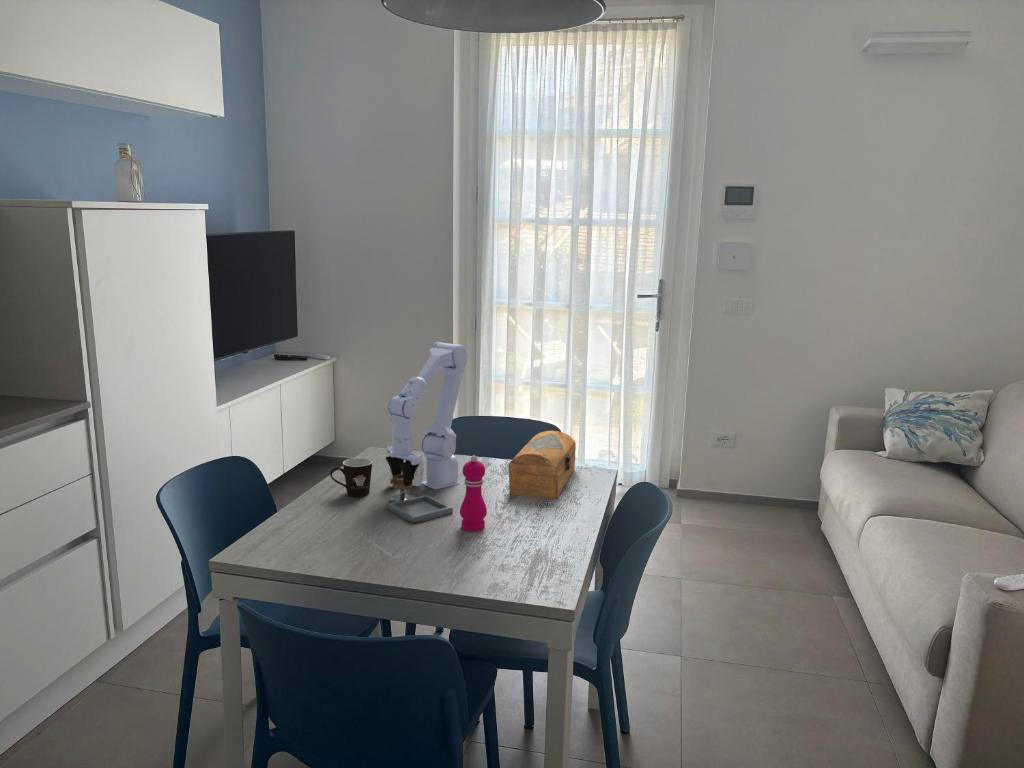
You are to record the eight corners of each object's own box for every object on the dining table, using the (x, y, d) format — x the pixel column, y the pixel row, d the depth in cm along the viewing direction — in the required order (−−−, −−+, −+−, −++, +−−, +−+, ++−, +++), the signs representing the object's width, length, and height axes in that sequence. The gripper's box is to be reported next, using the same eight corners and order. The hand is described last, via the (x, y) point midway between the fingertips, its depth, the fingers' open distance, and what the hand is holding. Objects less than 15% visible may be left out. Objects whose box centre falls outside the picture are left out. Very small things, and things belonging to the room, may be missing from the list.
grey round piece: (406, 493, 236) (406, 479, 236) (421, 501, 230) (421, 486, 230) (383, 499, 231) (383, 484, 231) (398, 506, 225) (397, 491, 224)
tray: (426, 500, 231) (426, 494, 231) (452, 513, 221) (452, 507, 221) (388, 509, 223) (388, 503, 222) (413, 523, 213) (413, 517, 213)
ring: (386, 486, 230) (386, 476, 229) (408, 481, 235) (408, 471, 234) (396, 491, 226) (396, 481, 225) (418, 486, 230) (418, 476, 230)
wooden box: (559, 502, 233) (561, 456, 230) (506, 495, 237) (507, 451, 235) (579, 472, 261) (581, 432, 259) (531, 467, 266) (532, 427, 263)
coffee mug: (376, 490, 239) (375, 458, 237) (368, 500, 230) (367, 467, 228) (338, 488, 240) (338, 456, 238) (329, 497, 231) (328, 465, 229)
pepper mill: (490, 524, 214) (491, 453, 210) (480, 534, 207) (481, 460, 203) (465, 520, 216) (466, 450, 212) (455, 530, 209) (456, 457, 206)
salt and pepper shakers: (388, 491, 238) (387, 456, 236) (384, 487, 242) (383, 452, 240) (425, 486, 243) (425, 451, 241) (421, 482, 247) (421, 448, 245)
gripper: (377, 434, 230) (377, 478, 233) (403, 445, 219) (403, 491, 222) (398, 430, 235) (398, 474, 237) (425, 441, 224) (425, 487, 226)
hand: (402, 482), depth 230 cm, fingers closed on ring, 5 cm apart
